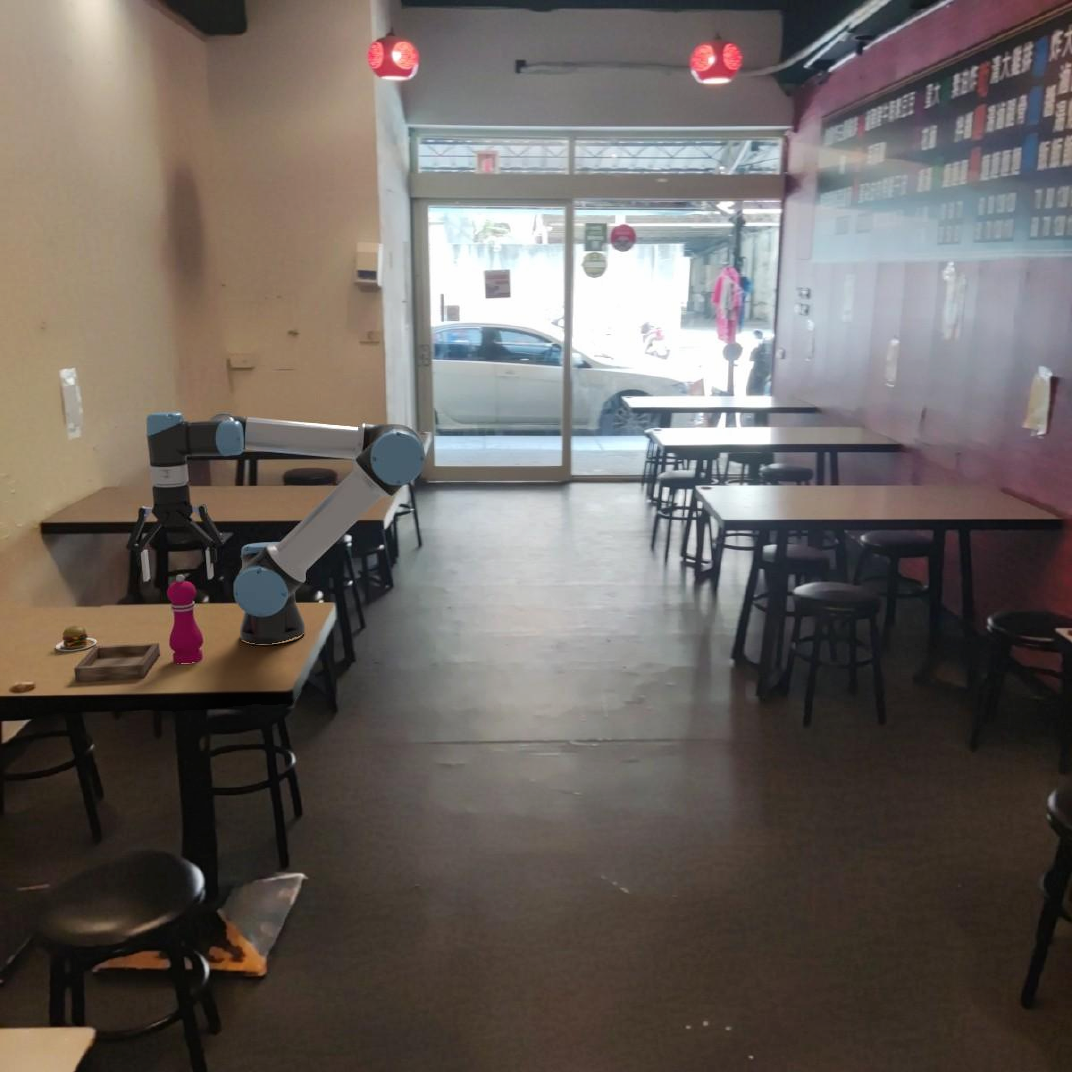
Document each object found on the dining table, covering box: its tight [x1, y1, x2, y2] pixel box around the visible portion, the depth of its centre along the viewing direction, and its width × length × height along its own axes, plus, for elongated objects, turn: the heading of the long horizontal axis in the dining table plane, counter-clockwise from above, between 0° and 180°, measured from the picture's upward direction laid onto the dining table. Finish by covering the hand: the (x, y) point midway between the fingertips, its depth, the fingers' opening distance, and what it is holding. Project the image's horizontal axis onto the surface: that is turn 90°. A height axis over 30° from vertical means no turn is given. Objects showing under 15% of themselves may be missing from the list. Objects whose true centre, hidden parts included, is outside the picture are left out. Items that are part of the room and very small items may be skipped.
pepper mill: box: [166, 574, 204, 665], centre depth 214 cm, size 7×7×20 cm
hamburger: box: [54, 625, 98, 652], centre depth 225 cm, size 12×12×6 cm
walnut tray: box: [73, 642, 161, 683], centre depth 211 cm, size 14×14×3 cm
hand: (179, 578), depth 212 cm, fingers open, 13 cm apart
